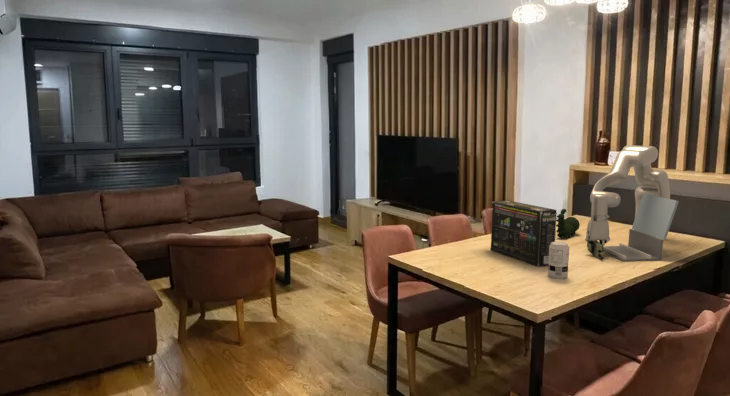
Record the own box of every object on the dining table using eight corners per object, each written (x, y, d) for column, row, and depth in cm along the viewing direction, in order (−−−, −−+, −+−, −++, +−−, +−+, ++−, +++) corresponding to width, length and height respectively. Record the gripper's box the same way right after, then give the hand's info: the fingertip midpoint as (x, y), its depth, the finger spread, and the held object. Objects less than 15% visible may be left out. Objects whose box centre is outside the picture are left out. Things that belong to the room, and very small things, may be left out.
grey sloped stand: (630, 247, 277) (631, 228, 275) (661, 260, 251) (663, 240, 249) (595, 248, 275) (596, 229, 274) (623, 261, 249) (624, 241, 248)
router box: (555, 264, 245) (558, 209, 241) (538, 267, 240) (541, 211, 236) (505, 248, 277) (507, 199, 273) (489, 250, 272) (490, 200, 268)
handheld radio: (592, 248, 274) (605, 261, 250) (586, 247, 274) (598, 260, 250) (593, 236, 273) (606, 247, 249) (587, 235, 273) (599, 247, 249)
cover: (631, 228, 275) (633, 229, 275) (663, 239, 249) (665, 240, 250) (643, 193, 273) (645, 193, 273) (676, 200, 247) (679, 201, 247)
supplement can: (544, 273, 230) (546, 241, 228) (562, 273, 231) (564, 241, 229) (552, 279, 222) (554, 245, 220) (570, 278, 223) (572, 245, 221)
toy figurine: (567, 243, 292) (583, 232, 310) (568, 211, 288) (584, 202, 306) (551, 241, 299) (568, 230, 316) (551, 210, 295) (568, 201, 312)
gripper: (610, 216, 263) (608, 250, 266) (579, 217, 262) (577, 251, 265) (618, 219, 256) (616, 254, 259) (587, 219, 255) (585, 255, 258)
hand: (596, 252), depth 262 cm, fingers closed on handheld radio, 3 cm apart
